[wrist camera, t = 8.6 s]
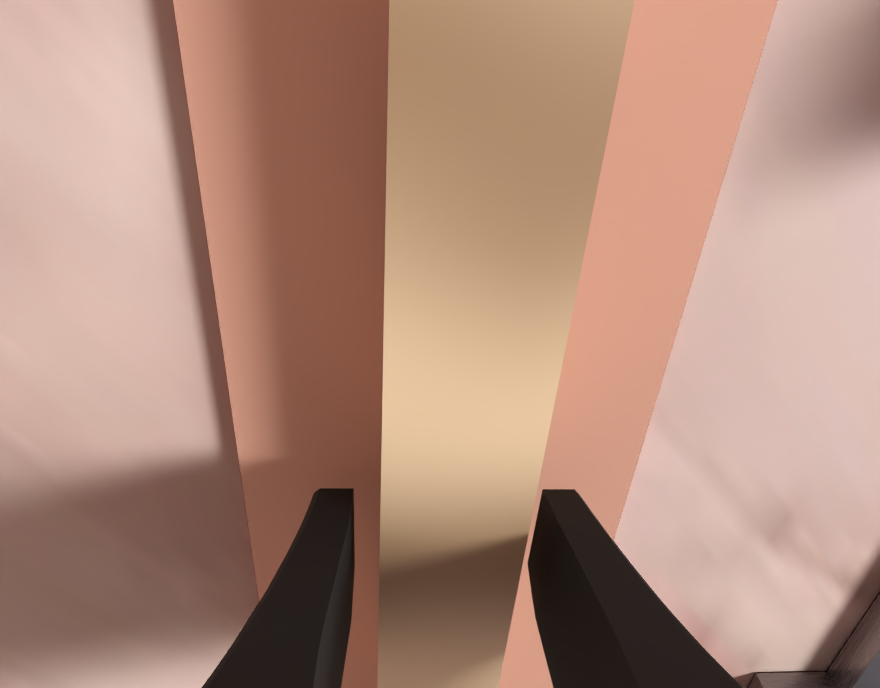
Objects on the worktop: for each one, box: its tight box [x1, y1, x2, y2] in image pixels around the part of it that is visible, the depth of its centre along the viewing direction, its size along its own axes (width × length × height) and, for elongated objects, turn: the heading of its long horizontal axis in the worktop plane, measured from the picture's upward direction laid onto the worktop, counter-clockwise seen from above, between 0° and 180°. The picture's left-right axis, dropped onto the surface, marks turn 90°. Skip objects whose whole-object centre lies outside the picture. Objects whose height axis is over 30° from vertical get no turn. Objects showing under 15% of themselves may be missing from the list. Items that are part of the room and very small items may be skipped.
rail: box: [377, 0, 635, 688], centre depth 11 cm, size 24×2×2 cm, turn 176°
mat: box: [173, 0, 778, 688], centre depth 12 cm, size 24×8×1 cm, turn 176°
